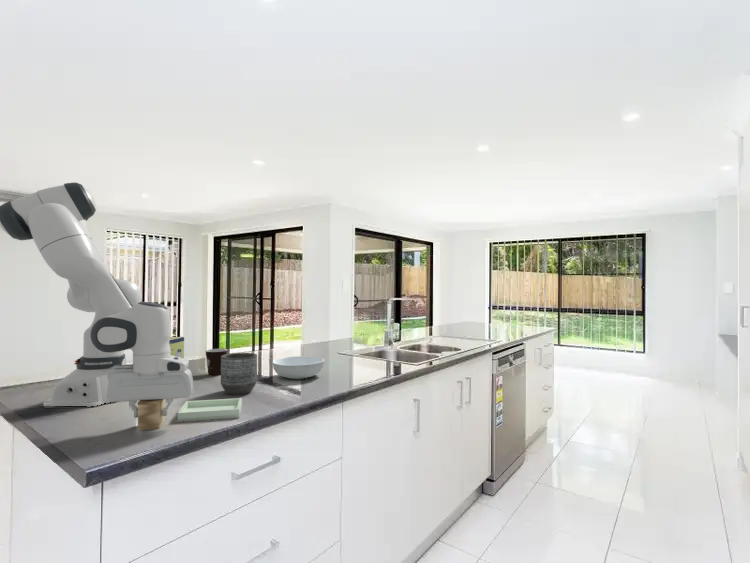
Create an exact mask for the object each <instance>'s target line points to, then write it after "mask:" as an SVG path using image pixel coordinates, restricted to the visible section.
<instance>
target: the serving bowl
mask: <svg viewBox="0 0 750 563" xmlns="http://www.w3.org/2000/svg"><path fill="white" fill-rule="evenodd" d="M324 365H325V358H322V357H319V356H314V355H313V356H310V355H309V356H308V355H298V356H285V357H280V358H277V359H273V361H272V368H273V370H274V372H275V373H276V374H277V375H278V376H281V377H283V378H287V379H290V380H305V379H308V377H309V378H310V377H313V376H316V375H318V374H319V373H320V372H322V369H324ZM304 378H305V379H304Z"/></svg>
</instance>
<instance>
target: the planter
mask: <svg viewBox="0 0 750 563" xmlns="http://www.w3.org/2000/svg"><path fill="white" fill-rule="evenodd" d="M257 381H258V354H256V353H254V352H234V353H233V352H232V353H227V354H226V355H222V356H221V375H220V385H221V387H222V388H223V390H224V392H225V393H226V394H227V395H232V396H241V395H242V396H243V395H246V394H250V393H251V392H252V391H253V390H254V388H255V386H256V384H257V383H258V382H257Z"/></svg>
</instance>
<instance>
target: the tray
mask: <svg viewBox="0 0 750 563" xmlns="http://www.w3.org/2000/svg"><path fill="white" fill-rule="evenodd" d="M242 407H243V397H237V398H224V399H223V398H221V399H219V398H218V399H206V400H205V399H202V400H186V401H185V402H184V404H183V405H182V406H181V408H180V409H179V411H178V412H177V423H182V422H183V421H184V422H196V421H198V420H199V421H210V419H214V420H227V419H238V418H240V416H241V412H242ZM184 422H183V423H184Z"/></svg>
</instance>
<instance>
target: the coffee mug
mask: <svg viewBox="0 0 750 563" xmlns="http://www.w3.org/2000/svg"><path fill="white" fill-rule="evenodd" d="M226 354H228V349H227V348H212V349H211V348H210V349H207V350H205V357H206V367H207V375H208V376H209V375H211V377H215V376H216V377H218V376H221V356H222V355H226Z"/></svg>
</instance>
